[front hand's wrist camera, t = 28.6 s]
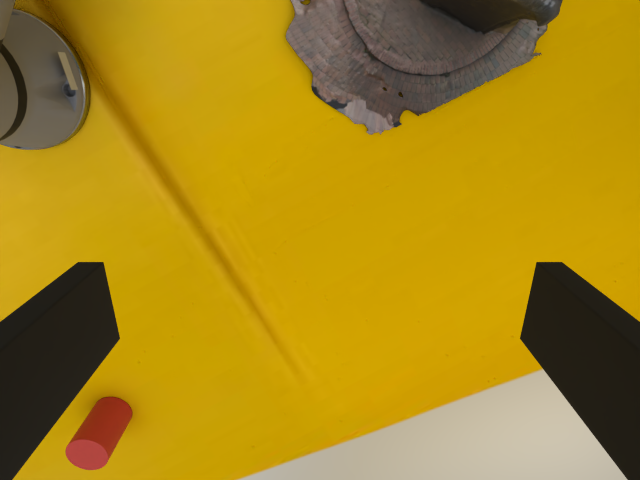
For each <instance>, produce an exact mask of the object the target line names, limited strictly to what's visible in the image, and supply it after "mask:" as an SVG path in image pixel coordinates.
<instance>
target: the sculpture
mask: <svg viewBox="0 0 640 480" xmlns="http://www.w3.org/2000/svg"><path fill="white" fill-rule="evenodd" d="M300 1H304V0H291V2H292V4H293V6H294V9H295V17H294V19H293V21H292V23H291V24H290V26H289V28H288V31H287V33H286V39H287V41H288V42H289V44H290V45H291V46H292V48H293V49H294V51H295V52H296V53H297V55H298V56H299V57H300V58H301V59H302V60H303V61H304V63H305V64H306V65H307V66H308V67H309V69H310V70H311V72H312V74H313V81H312V90H313V92H314V94H315V95H316V96H318V97H319V98H320V99H321V100H323V101H324V102H325V103H327V104H328V105H330V106H332V107H333V108H335V109H336V110H338V111H340V112H341V113H343V114H344V115H346V116H348V117H349V118H350V119H351V120H352V121H353V122H354V123H355V124H365V126H366V127H367V128H368V131H367V133H369V134H373V133H376V132H380V135H381V133H382V132H383V131H384V130H389V129H391V128H392V127H397V126H399V125H401V123H400V122H399V119H400V116H401V114H402V112H403V111H404V110H410V111H412V112H413V113H415V114H416V115H418V116H419V114H420V115H421V114H422V113H427V112H429V111H431V110H432V109H435V108H436V107H438V106H440V105H442V104H443V103H446V102H449V101H451V100H452V99H455V98H457V97H458V96H461V95H462V94H464V93H466V92H469V91H471V90H473V89H475V88H476V87H478V86H481V85H483V84H484V82H485V81H487V82H489V80H493V79H495V78H497V77H499V76H501V75H502V74H504V73H506V72H509V71H510V70H511V69H512V68H515V67H517V66H519V65H522V64H524V63H526V62H528V61H530V60H531V59H532V58H533V57H534V56H537V55H540V54H541V53H534V54H533V51H534V49H535V46H536V42H537V40H538V38H539V37H540V36H542V35H543V34H544V33H545V32H546V30H547V24H548V23H549V22H551V21H552V20H553V19H554V18H556V17H557V16H558V14H559V11H560V6H561V3H562V0H310V3H309V4H308V5H303V4H301V3H300ZM538 28H539V31H538V30H537V29H538ZM532 54H533V55H532ZM383 87H385V88H386V89H387V91H384V90H383ZM399 92H401V93H402V94H403V97H400V96H399V95H398V93H399Z"/></svg>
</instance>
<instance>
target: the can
mask: <svg viewBox="0 0 640 480" xmlns="http://www.w3.org/2000/svg"><path fill="white" fill-rule="evenodd" d="M131 418H132V410H131V408H130V406H129V405H128V404H127V403H126V402H125V401H123V400H121V399H119V398H115V397H105V398H102V399H100V400H99V401H98V402H97V403H96V404H95V406H94V407H93V409H92V410H91V412H90V413H89V415H88V416H87V418H86V419H85V420H84V422H83V423H82V425H81V426H80V428H79V429H78V431H77V432H76V434H75V435H74V437H73V438H72V440H71V441H70V443H69V444H68V446H67V447H66V456H67V458H68V460H69V461H70V462H71V463H72V464H74V465H75V466H77V467H79V468H82V469H86V470H96V469H100V468H102V467H103V466H105V465H106V463H107V462H108V460H109V458H110V456H111V454H112V453H113V451H114V449H115V447H116V445H117V443H118V442H119V440H120V438H121V436H122V434H123V432H124V431H125V429H126V427H127V425H128V423H129V421H130V420H131Z"/></svg>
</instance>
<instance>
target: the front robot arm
mask: <svg viewBox="0 0 640 480" xmlns="http://www.w3.org/2000/svg"><path fill="white" fill-rule="evenodd" d="M15 1H16V0H0V144H1V145H4V146H8V147H12V148H17V149H25V150H36V149H45V148H49V147H53V146H56V145H59V144H62V143H64V142H66V141H67V140H69V139H70V138H72V137H73V136H74V135H75V134H76V133H77V132H78V131H79V130H80V128H81V127H82V125H83V123H84V122H85V119H86V117H87V114H88V110H89V105H90V88H89V82H88V77H87V74H86V71H85V68H84V66H83V63H82V61H81V59H80V57H79V56H78V54H77V52H76V51H75V49H74V48H73V46H72V45H71V44H70V42H69V41H68V40H67V39H66V38H65V37H64V36H63V35H62V34H61V33H60V32H59V31H58V30H57V29H56V28H55V27H53V26H52V25H51V24H49V23H48V22H46V21H45V20H43V19H41V18H39V17H37V16H36V15H33V14H31V13H28V12H25V11H22V10H17V9H13V7H14V4H15ZM119 339H120V337H119V332H118V327H117V323H116V318H115V314H114V309H113V304H112V300H111V295H110V291H109V286H108V281H107V277H106V272H105V268H104V263H103V262H78V263H76V264H75V265H74V266H72V267H71V268H70V269H69V270H67V271H66V272H65V273H63V274H62V275H61V276H59V277H58V278H57V279H56V280H54V281H53V282H52V283H50V284H49V285H48V286H46V287H45V288H44V289H43V290H41V291H40V292H39V293H37V294H36V295H35V296H33V297H32V298H31V299H30V300H28V301H27V302H26V303H24V304H23V305H22V306H20V307H19V308H18V309H17V310H15V311H14V312H13V313H11V314H10V315H9V316H7V317H6V318H5V319H4V320H2V321H1V322H0V480H12V479H13V478H14V477H15V475H16V474H17V473H18V471H19V470H20V469H21V468H22V466H23V465H24V464H25V462H26V461H27V460H28V458H29V457H30V456H31V454H32V453H33V452H34V450H35V449H36V448H37V447H38V445H39V444H40V443H41V441H42V440H43V439H44V437H45V436H46V435H47V433H48V432H49V431H50V430H51V428H52V427H53V426H54V424H55V423H56V422H57V420H58V419H59V418H60V416H61V415H62V414H63V412H64V411H65V410H66V409H67V407H68V406H69V405H70V403H71V402H72V401H73V399H74V398H75V397H76V395H77V394H78V393H79V392H80V390H81V389H82V388H83V386H84V385H85V384H86V382H87V381H88V380H89V378H90V377H91V376H92V374H93V373H94V372H95V371H96V369H97V368H98V367H99V365H100V364H101V363H102V361H103V360H104V359H105V357H106V356H107V355H108V353H109V352H110V351H111V350H112V348H113V347H114V346H115V344H116V343H117V342H118V340H119ZM520 339H521V340H522V342H523V343H524V344H525V346H526V347H527V348H528V350H529V351H530V352H531V353H532V355H533V356H534V357H535V359H536V360H537V361H538V363H539V364H540V365H541V367H542V368H543V369H544V371H545V372H546V373H547V374H548V376H549V377H550V378H551V380H552V381H553V382H554V384H555V385H556V386H557V387H558V389H559V390H560V392H561V393H562V394H563V395H564V397H565V398H566V399H567V401H568V402H569V403H570V405H571V406H572V407H573V409H574V410H575V411H576V412H577V414H578V415H579V416H580V418H581V419H582V420H583V422H584V423H585V424H586V426H587V427H588V428H589V430H590V431H591V432H592V433H593V435H594V436H595V437H596V439H597V440H598V441H599V443H600V444H601V445H602V447H603V448H604V449H605V450H606V452H607V453H608V454H609V456H610V457H611V458H612V460H613V461H614V462H615V464H616V465H617V466H618V467H619V469H620V470H621V471H622V473H623V474H624V475H625V477H626V478H627V479H628V480H640V322H639V321H638V320H636V319H635V318H634V317H633V316H631V315H630V314H629V313H627V312H626V311H625V310H623V309H622V308H621V307H620V306H618V305H617V304H616V303H614V302H613V301H612V300H610V299H609V298H608V297H607V296H605V295H604V294H603V293H601V292H600V291H599V290H597V289H596V288H595V287H594V286H592V285H591V284H590V283H588V282H587V281H586V280H584V279H583V278H582V277H581V276H579V275H578V274H577V273H575V272H574V271H573V270H571V269H570V268H569V267H568V266H566V265H565V264H564V263H562V262H537V263H536V268H535V272H534V277H533V281H532V286H531V291H530V295H529V300H528V304H527V309H526V314H525V318H524V323H523V327H522V332H521V337H520Z"/></svg>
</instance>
